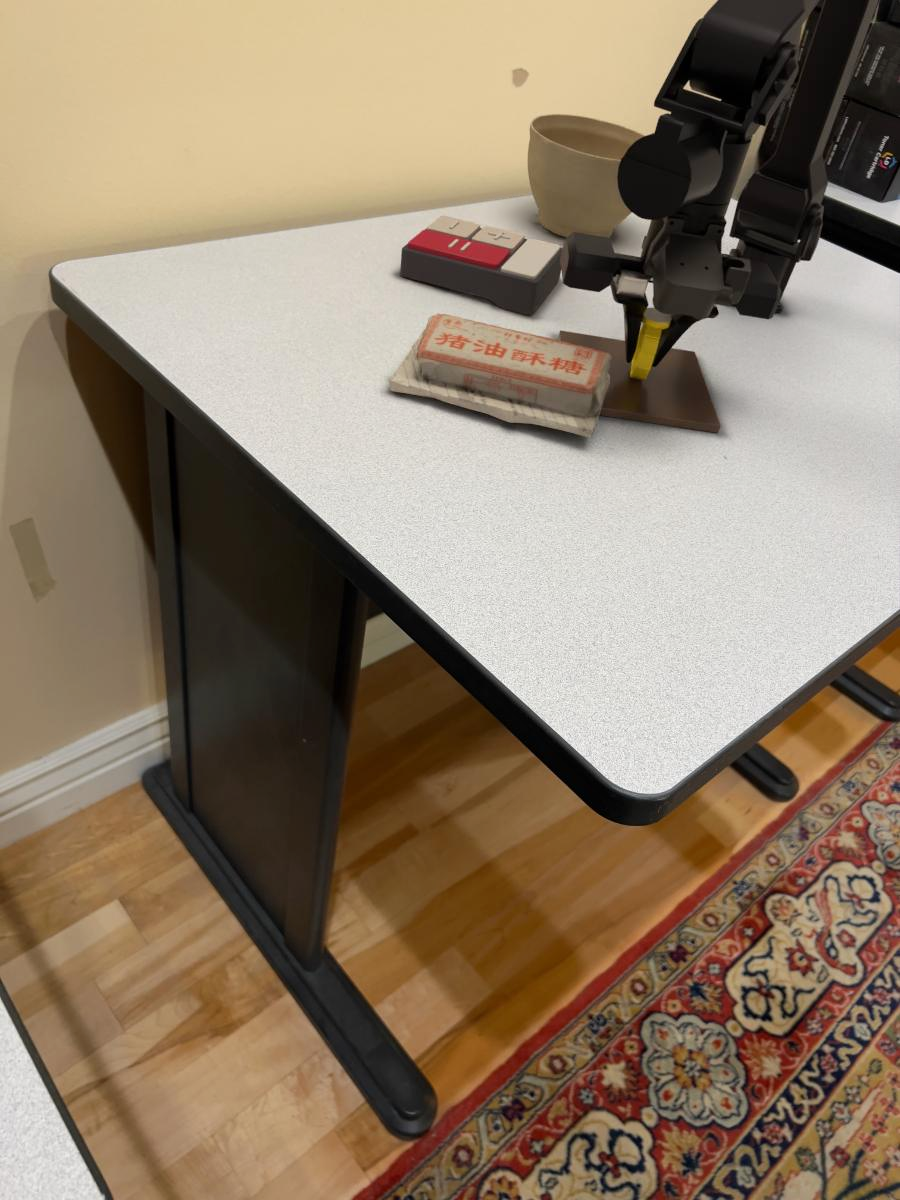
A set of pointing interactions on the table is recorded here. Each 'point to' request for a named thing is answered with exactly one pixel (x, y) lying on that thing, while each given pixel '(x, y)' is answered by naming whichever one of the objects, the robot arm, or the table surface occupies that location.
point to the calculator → (483, 263)
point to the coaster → (654, 387)
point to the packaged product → (507, 374)
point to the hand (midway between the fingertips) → (640, 362)
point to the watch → (648, 342)
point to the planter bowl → (578, 173)
